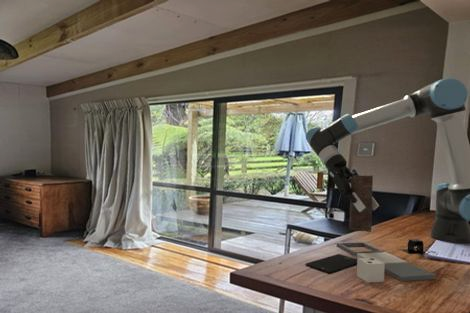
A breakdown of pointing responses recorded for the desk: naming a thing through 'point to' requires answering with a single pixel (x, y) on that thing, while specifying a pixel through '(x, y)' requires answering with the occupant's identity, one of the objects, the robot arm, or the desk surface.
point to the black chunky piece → (412, 244)
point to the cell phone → (333, 263)
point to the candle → (364, 192)
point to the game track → (389, 262)
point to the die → (370, 269)
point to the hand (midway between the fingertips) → (369, 208)
